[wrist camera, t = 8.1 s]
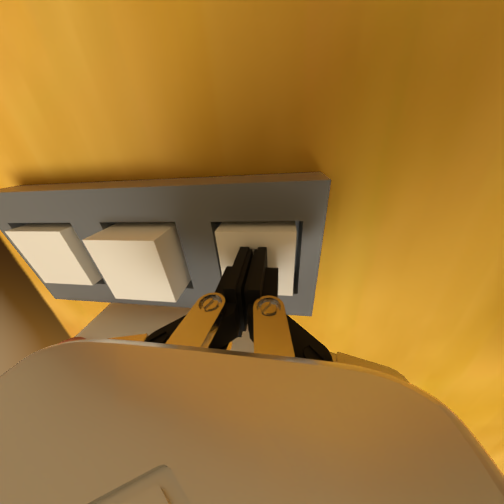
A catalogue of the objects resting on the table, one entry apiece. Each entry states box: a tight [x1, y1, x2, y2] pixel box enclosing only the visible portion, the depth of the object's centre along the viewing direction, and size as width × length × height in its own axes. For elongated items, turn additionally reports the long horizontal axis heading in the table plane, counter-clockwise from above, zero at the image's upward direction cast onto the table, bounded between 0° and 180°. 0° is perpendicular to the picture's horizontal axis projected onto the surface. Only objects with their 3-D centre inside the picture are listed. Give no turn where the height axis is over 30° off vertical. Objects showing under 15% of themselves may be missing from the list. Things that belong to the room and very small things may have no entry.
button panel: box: [0, 172, 331, 353], centre depth 13 cm, size 24×14×11 cm, turn 94°
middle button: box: [82, 222, 191, 302], centre depth 13 cm, size 5×5×3 cm
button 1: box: [215, 221, 297, 296], centre depth 13 cm, size 5×5×3 cm
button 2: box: [5, 223, 102, 285], centre depth 16 cm, size 5×5×3 cm
